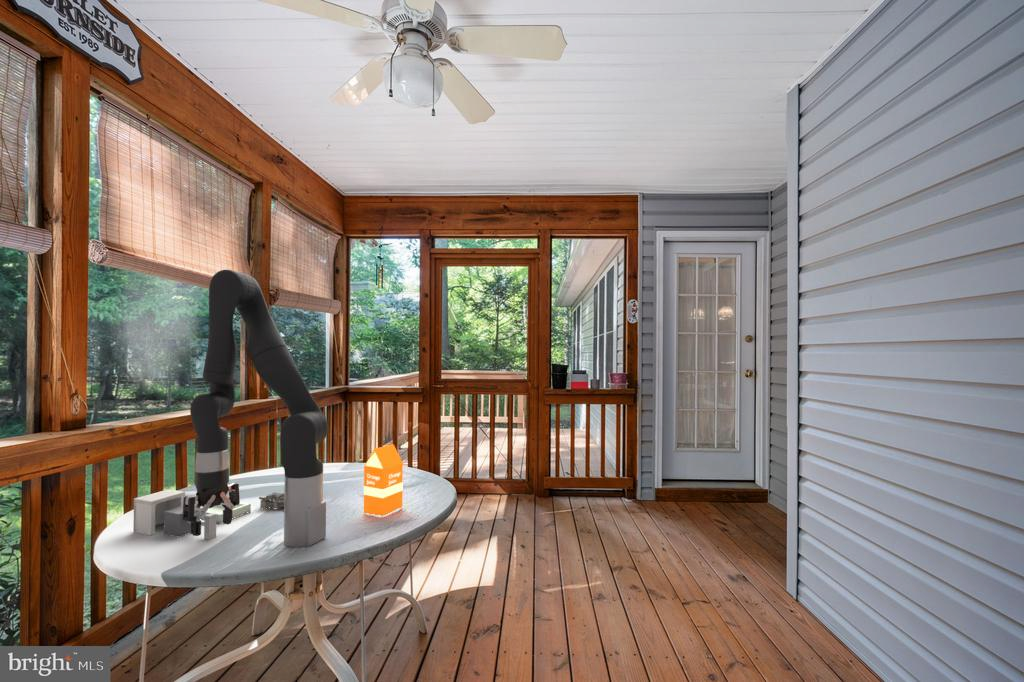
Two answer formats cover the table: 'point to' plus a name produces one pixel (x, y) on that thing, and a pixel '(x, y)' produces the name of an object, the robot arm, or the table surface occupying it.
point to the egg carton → (272, 500)
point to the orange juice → (383, 481)
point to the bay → (154, 509)
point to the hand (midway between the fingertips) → (212, 529)
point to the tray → (218, 509)
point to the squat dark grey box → (187, 524)
